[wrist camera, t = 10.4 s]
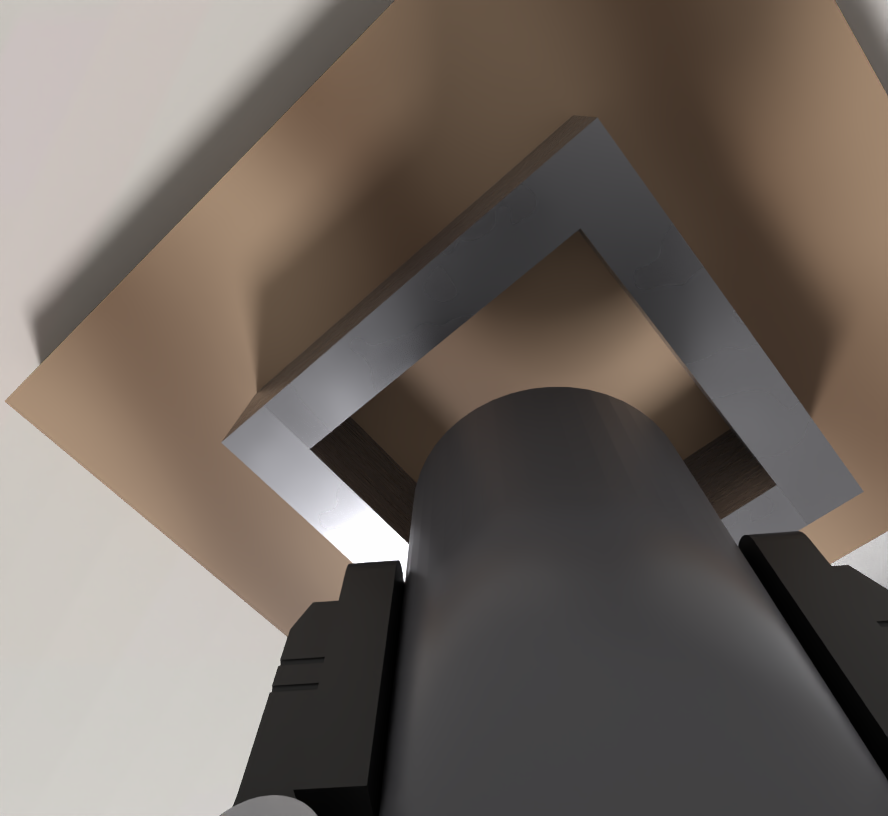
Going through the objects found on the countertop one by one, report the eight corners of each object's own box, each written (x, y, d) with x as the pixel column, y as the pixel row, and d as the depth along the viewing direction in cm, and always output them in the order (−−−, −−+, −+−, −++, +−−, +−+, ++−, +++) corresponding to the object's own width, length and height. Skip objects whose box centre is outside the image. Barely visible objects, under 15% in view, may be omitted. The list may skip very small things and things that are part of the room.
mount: (651, -244, 12) (735, -396, 8) (1020, 399, 17) (1178, 482, 13) (41, 377, 17) (-74, 452, 13) (457, 735, 22) (456, 862, 18)
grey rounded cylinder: (578, 327, 11) (995, 1082, 2) (741, 526, 12) (1354, 1431, 4) (356, 499, 12) (133, 1367, 4) (526, 660, 13) (637, 1550, 5)
